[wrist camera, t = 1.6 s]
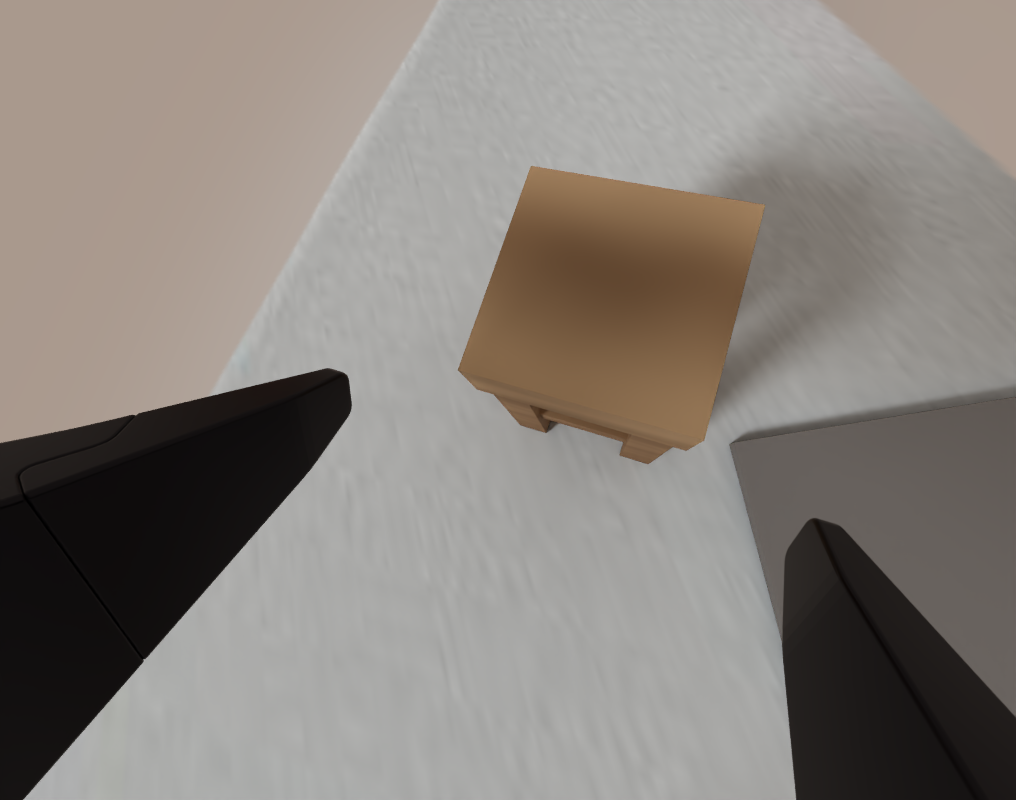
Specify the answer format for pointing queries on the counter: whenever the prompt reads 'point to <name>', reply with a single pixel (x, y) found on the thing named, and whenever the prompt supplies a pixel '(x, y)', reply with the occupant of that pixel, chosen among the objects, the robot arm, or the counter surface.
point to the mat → (906, 516)
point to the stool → (613, 309)
